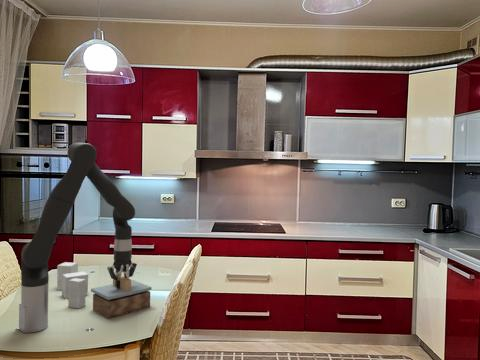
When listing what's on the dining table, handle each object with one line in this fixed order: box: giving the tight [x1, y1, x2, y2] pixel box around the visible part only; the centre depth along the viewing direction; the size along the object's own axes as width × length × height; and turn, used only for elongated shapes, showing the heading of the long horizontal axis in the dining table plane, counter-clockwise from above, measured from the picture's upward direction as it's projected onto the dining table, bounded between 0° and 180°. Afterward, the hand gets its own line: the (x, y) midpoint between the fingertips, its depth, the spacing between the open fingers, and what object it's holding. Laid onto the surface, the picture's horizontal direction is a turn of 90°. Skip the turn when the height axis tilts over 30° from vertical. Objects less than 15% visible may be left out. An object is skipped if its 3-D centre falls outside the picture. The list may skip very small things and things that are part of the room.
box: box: [92, 290, 151, 320], centre depth 173 cm, size 20×14×7 cm
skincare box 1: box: [61, 271, 89, 300], centre depth 188 cm, size 10×6×10 cm, turn 129°
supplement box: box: [56, 261, 79, 291], centre depth 199 cm, size 7×7×13 cm
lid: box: [90, 275, 153, 300], centre depth 172 cm, size 21×15×6 cm
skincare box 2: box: [67, 278, 86, 309], centre depth 174 cm, size 6×4×12 cm
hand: (121, 287), depth 172 cm, fingers closed on lid, 3 cm apart
